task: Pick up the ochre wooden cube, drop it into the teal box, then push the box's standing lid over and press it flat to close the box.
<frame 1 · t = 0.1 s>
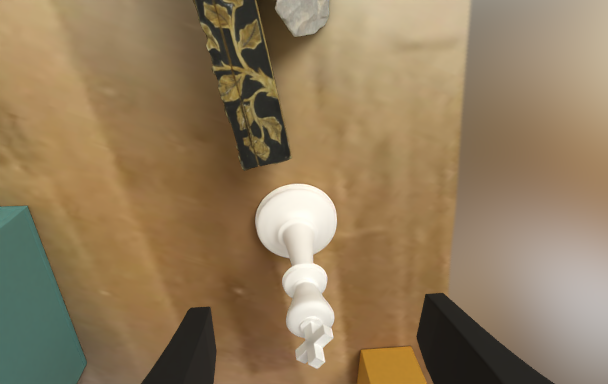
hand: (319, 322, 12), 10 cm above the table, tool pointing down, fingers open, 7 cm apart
cube: (383, 364, 29), on the table
chess piece: (295, 218, 22), on the table
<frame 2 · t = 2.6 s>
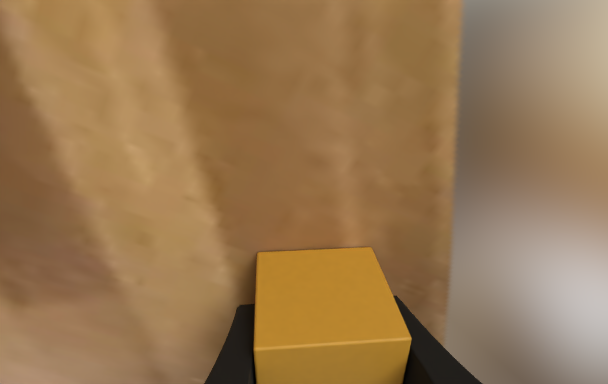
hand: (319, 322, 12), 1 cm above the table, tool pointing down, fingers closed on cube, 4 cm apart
cube: (313, 293, 13), on the table, touching gripper
when the fingers open (2 cm above the table, at t = 8.5 s): cube stays where it is, resting on teal box.
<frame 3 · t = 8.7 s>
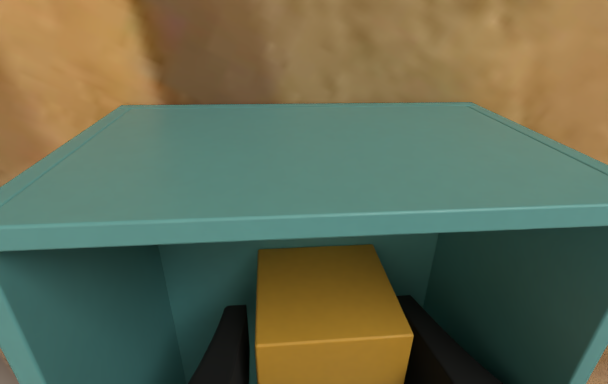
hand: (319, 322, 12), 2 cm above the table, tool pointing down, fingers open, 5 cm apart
teal box: (301, 275, 13), on the table
cube: (314, 290, 13), resting on teal box
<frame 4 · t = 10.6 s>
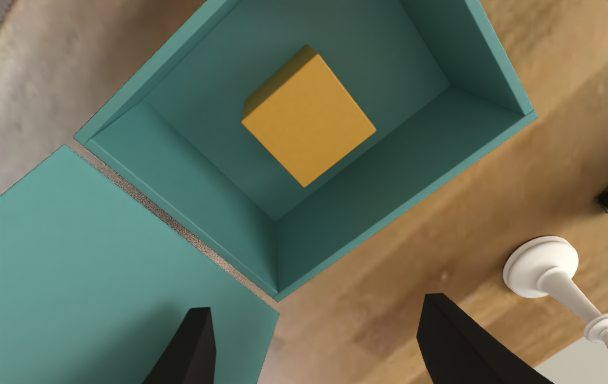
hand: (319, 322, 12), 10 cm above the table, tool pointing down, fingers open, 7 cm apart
teal box: (301, 89, 18), on the table
cube: (301, 103, 18), resting on teal box
flap: (138, 319, 11), point 10 cm above the table, hinge at 116.0°, touching gripper
chess piece: (535, 263, 25), on the table
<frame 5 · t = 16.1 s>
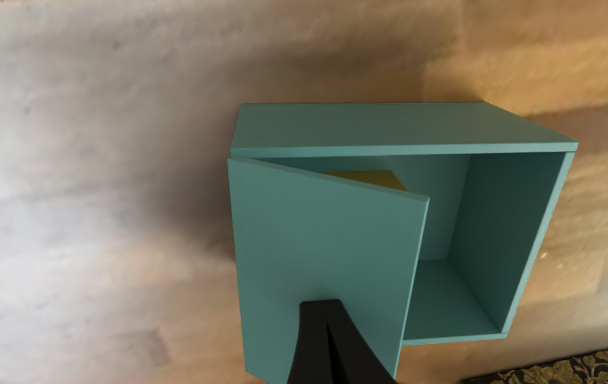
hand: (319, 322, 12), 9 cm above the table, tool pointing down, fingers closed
teal box: (359, 192, 21), on the table
cube: (353, 203, 21), resting on teal box
decorative block: (548, 367, 30), on the table
flap: (313, 307, 13), point 9 cm above the table, hinge at 31.9°, touching gripper
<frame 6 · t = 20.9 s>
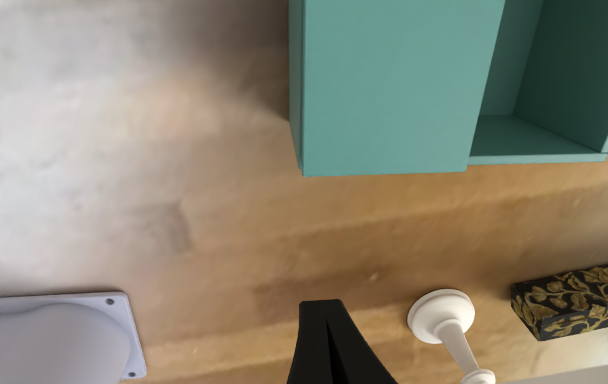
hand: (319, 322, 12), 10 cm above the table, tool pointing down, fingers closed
teal box: (418, 18, 18), on the table
flap: (402, 23, 11), point 7 cm above the table, hinge at -0.6°
chess piece: (438, 311, 28), on the table
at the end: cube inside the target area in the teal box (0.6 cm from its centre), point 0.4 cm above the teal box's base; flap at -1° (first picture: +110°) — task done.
